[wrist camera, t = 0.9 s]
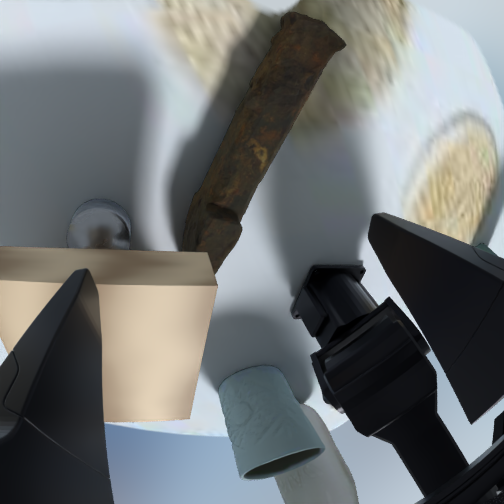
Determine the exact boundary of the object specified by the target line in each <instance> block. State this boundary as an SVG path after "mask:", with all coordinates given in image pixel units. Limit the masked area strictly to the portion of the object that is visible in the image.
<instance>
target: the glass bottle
mask: <svg viewBox="0 0 504 504" xmlns="http://www.w3.org/2000/svg"><path fill="white" fill-rule="evenodd" d="M300 407H301V409H302V410H303V412H304V414H305V415H306V417H307V418H308V419H309V421H310V422H311V424H312V425H313V427H314V429H315V431H316V432H317V434H318V436H319V437H320V439H321V441H322V442H323V444H324V445H325V451H324V452H323V453H322V454H321V455H320V456H318V457H317V458H315V459H314V460H312V461H310V462H308V463H307V464H305V465H303V466H300V467H298V468H296V469H293V470H291V471H288V472H286V473H283V474H280V475H277V476H274V477H275V480H276V482H277V485H278V488H279V490H280V493H281V495H282V498H283V500H284V502H285V504H359V502H358V496H357V491H356V486H355V482H354V479H353V477H352V474H351V472H350V470H349V468H348V466H347V465H346V464H345V461H344V459H343V458H342V456H341V454H340V452H339V450H338V448H337V447H336V445H335V443H334V441H333V439H332V436H331V435H330V432H329V431H328V428H327V427H326V425H325V423H324V421H323V420H322V419H321V417H320V416H319V414H318V413H317V412H316V411H315V410H314V409H313V408H311V407H310V406H308V405H305V404H300Z"/></svg>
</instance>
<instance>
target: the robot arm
mask: <svg viewBox="0 0 504 504" xmlns="http://www.w3.org/2000/svg"><path fill="white" fill-rule="evenodd" d="M368 240H369V242H370V244H371V246H372V248H373V250H374V251H375V253H376V255H377V257H378V259H379V261H380V263H381V264H382V266H383V268H384V270H385V272H386V274H387V276H388V277H389V279H390V281H391V282H392V284H393V285H394V287H395V288H396V290H397V292H398V293H399V295H400V296H401V298H402V299H403V301H404V303H405V304H406V306H407V308H408V309H409V311H410V312H411V314H412V316H413V317H414V319H415V321H416V322H417V324H418V326H419V327H420V329H421V331H422V333H423V334H424V336H425V338H426V340H427V341H428V343H429V345H430V347H431V348H432V350H433V352H434V354H435V355H436V357H437V359H438V361H439V363H440V364H441V366H442V368H443V370H444V372H445V373H446V376H447V378H448V380H449V382H450V384H451V386H452V388H453V390H454V392H455V394H456V396H457V398H458V399H459V402H460V404H461V406H462V408H463V410H464V412H465V414H466V416H467V418H468V421H469V422H470V424H471V425H472V424H473V423H475V422H476V421H477V420H478V419H479V418H481V417H482V416H483V415H484V414H486V413H487V412H488V411H489V410H490V409H491V408H493V407H494V406H495V405H496V404H497V403H498V402H499V401H501V399H503V398H504V259H503V258H501V257H498V256H496V255H493V254H491V253H488V252H486V251H483V250H481V249H479V248H476V247H474V246H471V245H469V244H467V243H464V242H462V241H459V240H457V239H454V238H452V237H449V236H447V235H444V234H442V233H439V232H436V231H434V230H431V229H429V228H426V227H423V226H421V225H418V224H415V223H412V222H410V221H407V220H404V219H401V218H399V217H396V216H393V215H390V214H387V213H383V212H382V213H376V214H374V215H373V216H372V218H371V222H370V227H369V232H368ZM316 270H317V271H316ZM315 271H316V272H315ZM365 272H366V269H365V268H364V267H363V266H330V265H316V266H313V267H312V268H311V269H310V272H309V274H308V276H307V279H306V281H305V283H304V286H303V288H302V290H301V293H300V295H299V297H298V300H297V302H296V304H295V307H294V309H293V311H292V314H291V315H292V317H293V319H302V321H303V322H304V324H305V326H306V328H307V330H308V331H309V333H310V335H311V336H312V337H315V338H316V339H317V341H318V343H319V345H320V346H321V348H322V349H320V350H319V351H317V352H314V353H313V354H311V355H310V357H311V359H312V362H313V363H312V365H313V368H314V371H315V374H316V376H317V379H318V382H319V385H320V387H321V390H322V395H323V400H324V401H325V403H327V404H331V405H332V406H333V407H334V408H335V409H336V410H337V411H338V412H340V413H341V414H343V413H346V415H347V416H348V418H349V419H350V421H351V422H352V424H353V426H354V428H355V429H356V430H357V432H359V433H361V434H363V435H364V436H366V437H370V436H374V437H376V438H378V439H381V440H383V441H385V442H388V443H390V444H392V445H393V447H394V448H395V450H396V451H397V453H398V455H399V456H400V458H401V459H402V461H403V463H404V464H405V466H406V468H407V469H408V471H409V473H410V474H411V476H412V477H413V479H414V481H415V482H416V484H417V486H418V487H419V489H420V490H421V492H422V494H423V495H424V497H425V498H423V499H421V500H420V501H418V502H417V503H415V504H504V411H503V412H502V413H501V414H500V415H499V416H497V418H495V421H494V432H493V441H492V446H491V447H490V448H489V449H487V450H486V451H485V452H484V453H483V454H482V455H481V456H480V457H478V458H477V459H476V460H475V461H474V462H472V463H471V464H470V465H469V464H468V462H467V461H466V459H465V457H464V455H463V454H462V452H461V450H460V449H459V447H458V445H457V444H456V442H455V440H454V439H453V437H452V435H451V434H450V432H449V431H448V429H447V427H446V426H445V424H444V423H443V421H442V419H441V418H440V416H439V415H438V413H437V374H436V371H435V369H434V367H433V366H432V364H431V363H430V361H429V360H428V359H427V357H426V354H428V353H429V352H430V351H431V350H430V347H429V345H428V344H427V342H426V340H425V339H424V337H423V336H422V334H421V333H420V331H419V330H418V329H417V327H416V326H415V325H414V324H413V322H412V321H411V320H410V319H409V318H408V317H407V316H406V314H405V313H404V312H403V311H402V310H401V309H400V308H399V307H398V306H397V305H396V303H395V302H394V301H393V300H392V299H391V298H390V297H388V298H386V299H385V300H384V302H383V303H382V304H380V305H378V304H377V303H376V301H375V300H374V299H373V298H372V296H371V295H370V294H369V292H368V291H367V290H366V289H365V287H364V286H363V285H362V284H361V280H362V278H363V276H364V274H365ZM109 478H110V475H109V467H108V459H107V450H106V440H105V427H104V411H103V387H102V332H101V319H100V304H99V293H98V289H97V287H96V285H95V282H94V280H93V277H92V275H91V273H90V271H89V269H87V268H83V269H78V270H75V271H74V272H73V273H72V274H71V275H70V277H69V278H68V279H67V280H66V281H65V282H64V284H63V285H62V286H61V287H60V288H59V289H58V291H57V292H56V293H55V294H54V296H53V297H52V298H51V299H50V300H49V302H48V303H47V304H46V305H45V307H44V308H43V309H42V310H41V312H40V313H39V314H38V316H37V317H36V318H35V319H34V321H33V322H32V323H31V325H30V326H29V327H28V329H27V330H26V331H25V333H24V334H23V335H22V337H21V338H20V339H19V341H18V342H17V343H16V345H15V346H14V348H13V351H11V352H10V353H9V355H8V356H7V358H6V359H5V360H4V362H3V363H2V365H1V366H0V504H114V501H113V494H112V488H111V481H110V479H109Z"/></svg>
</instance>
